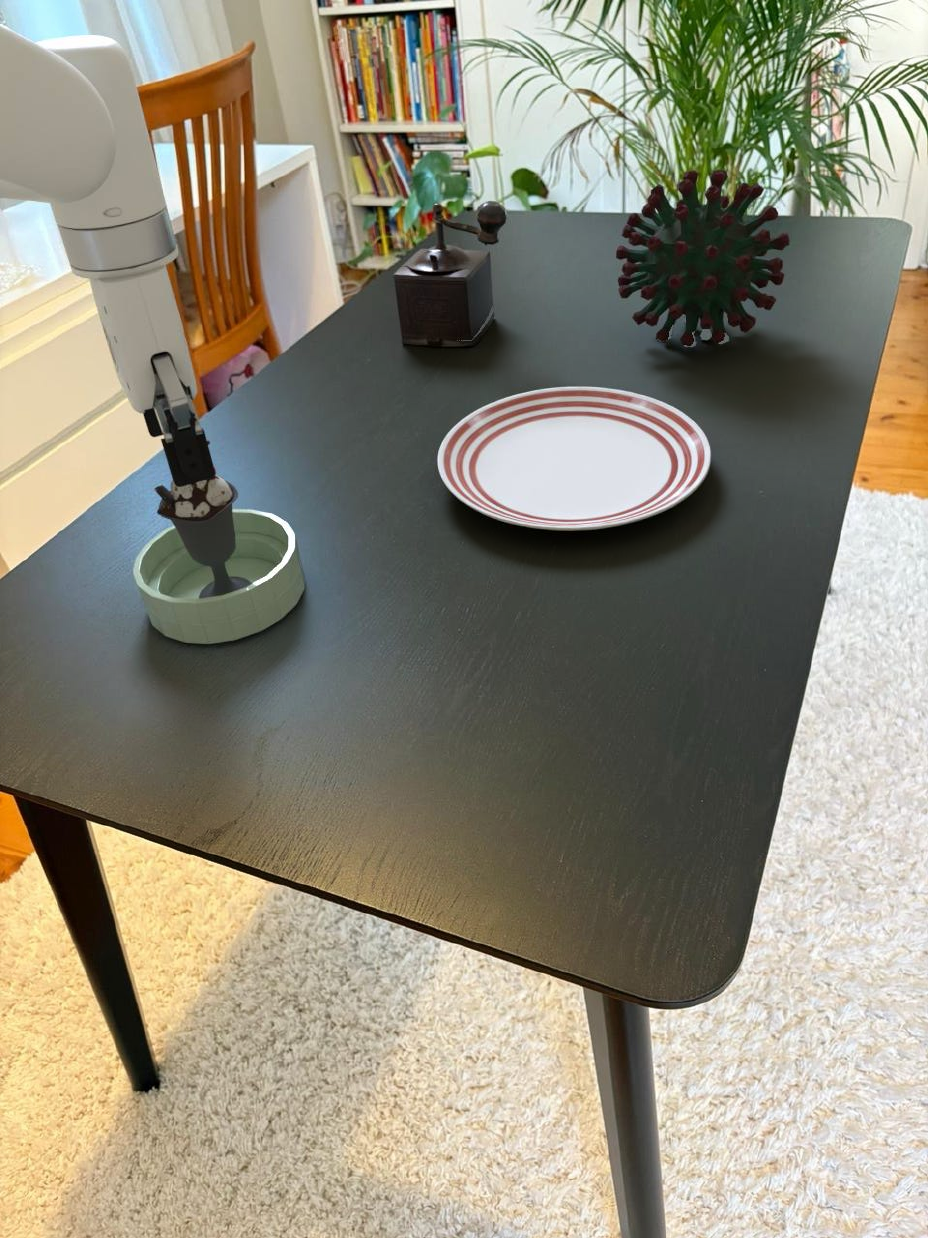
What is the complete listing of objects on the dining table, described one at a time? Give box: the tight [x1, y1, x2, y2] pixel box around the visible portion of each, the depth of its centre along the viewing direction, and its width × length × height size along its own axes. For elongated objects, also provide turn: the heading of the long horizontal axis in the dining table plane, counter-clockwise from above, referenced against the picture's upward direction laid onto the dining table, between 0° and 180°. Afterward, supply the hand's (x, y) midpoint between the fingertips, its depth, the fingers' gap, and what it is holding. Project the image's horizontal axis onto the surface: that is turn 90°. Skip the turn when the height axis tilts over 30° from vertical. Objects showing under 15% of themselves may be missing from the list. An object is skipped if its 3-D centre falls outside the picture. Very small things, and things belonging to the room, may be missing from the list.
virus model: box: [615, 169, 790, 346], centre depth 117 cm, size 20×20×20 cm
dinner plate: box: [437, 386, 712, 532], centre depth 99 cm, size 27×27×3 cm
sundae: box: [154, 440, 252, 599], centre depth 84 cm, size 7×7×15 cm
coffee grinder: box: [393, 200, 508, 348], centre depth 126 cm, size 16×11×18 cm
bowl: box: [132, 508, 306, 645], centre depth 87 cm, size 14×14×5 cm
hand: (181, 455), depth 79 cm, fingers open, 9 cm apart
